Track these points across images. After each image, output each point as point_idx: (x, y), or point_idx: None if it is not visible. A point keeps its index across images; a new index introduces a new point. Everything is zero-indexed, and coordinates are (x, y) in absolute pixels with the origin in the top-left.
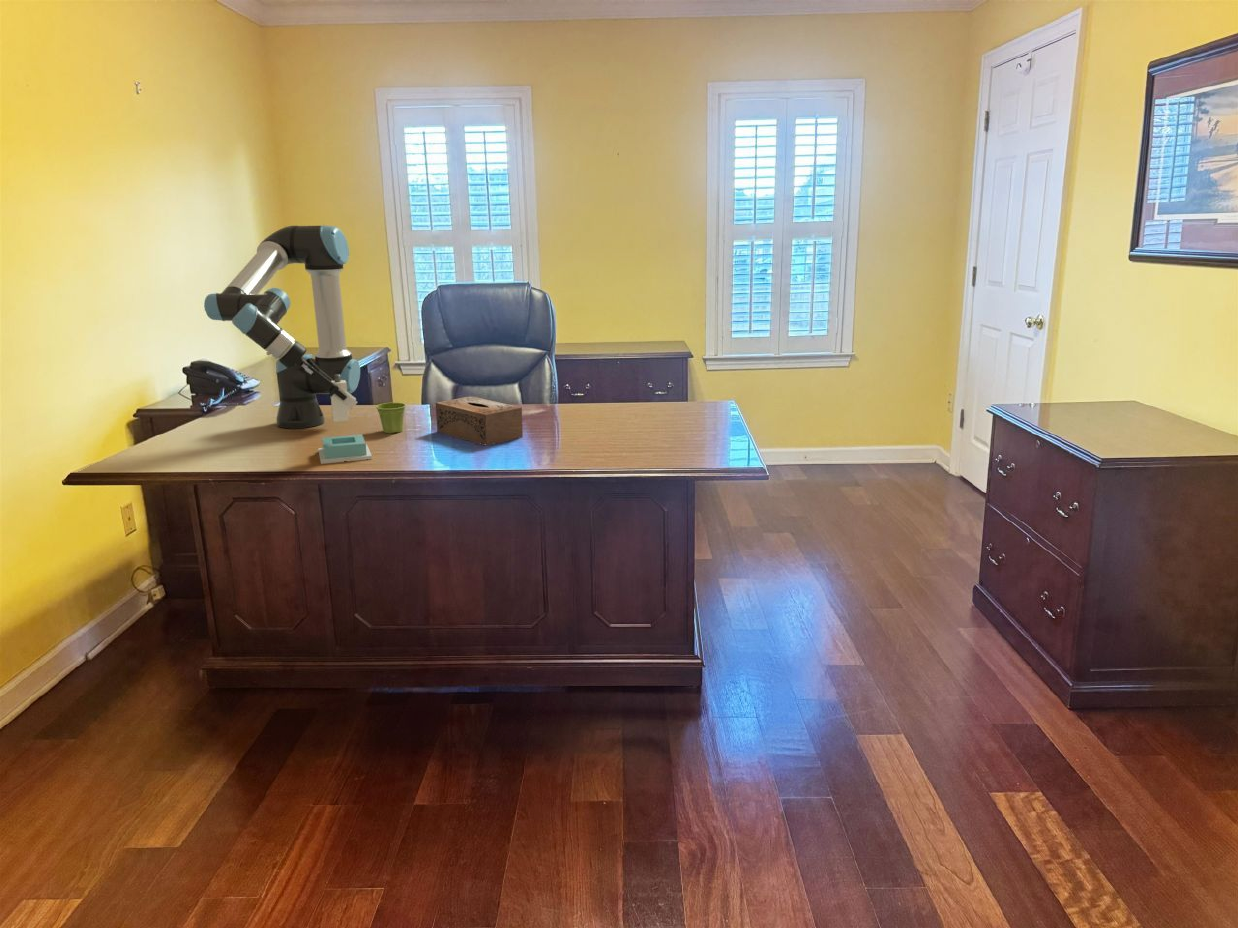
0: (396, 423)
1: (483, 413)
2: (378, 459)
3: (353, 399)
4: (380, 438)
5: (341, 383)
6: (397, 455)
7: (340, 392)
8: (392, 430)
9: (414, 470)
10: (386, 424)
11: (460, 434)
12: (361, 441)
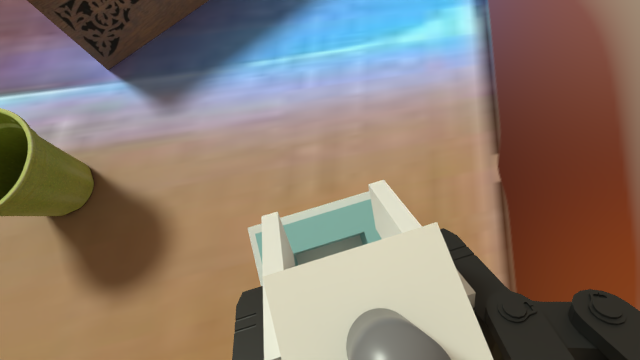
0: (70, 161)
1: None
2: (384, 171)
3: (396, 197)
4: (148, 209)
5: (457, 277)
6: (345, 130)
7: (491, 273)
8: (88, 181)
9: (482, 71)
10: (67, 193)
11: (187, 3)
12: (356, 214)
